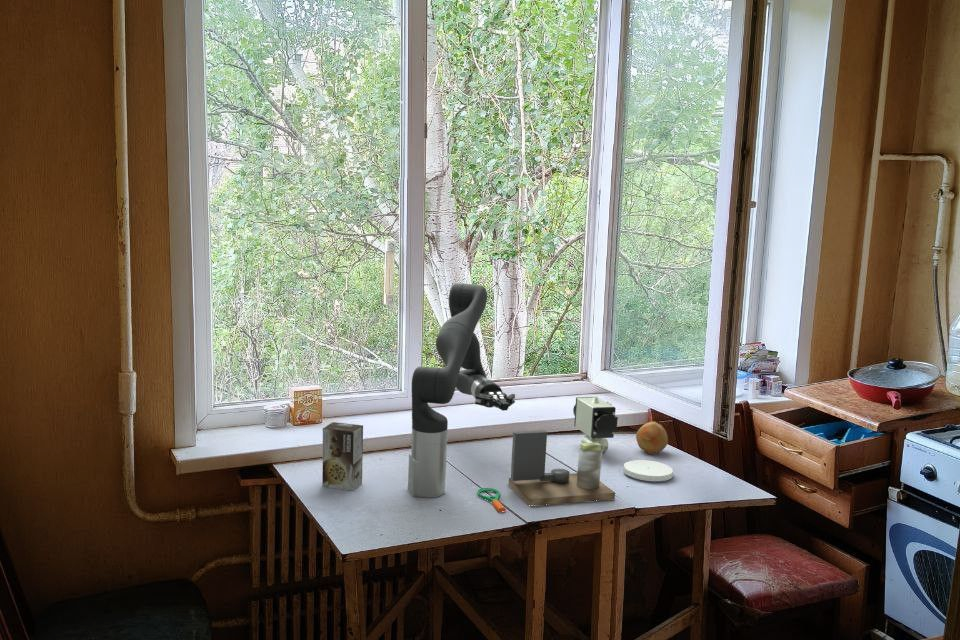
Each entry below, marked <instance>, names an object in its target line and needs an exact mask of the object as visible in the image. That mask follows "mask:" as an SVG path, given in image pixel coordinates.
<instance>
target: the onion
mask: <svg viewBox="0 0 960 640" xmlns="http://www.w3.org/2000/svg"><path fill="white" fill-rule="evenodd" d="M635 439H636V443H637V445H638V447H639V448H640V450H641V451H643V452H645V453H647V454H650V455H656V454H658V453H660V452H662V451H663V450H665V448H666V447H667V445H668V444H669V436H668V433H667V431H666V429H665V428H664V426H663V425H662V424H660V423H658V422H657V421H649V422H647V423H645V424H643V425H642V426H641V427H640V428H639V429H638V430H637V432H636V434H635Z"/></svg>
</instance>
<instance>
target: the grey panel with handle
mask: <svg viewBox="0 0 960 640" xmlns="http://www.w3.org/2000/svg"><path fill="white" fill-rule="evenodd" d="M547 441H548V431H547V430H544V429H543V430H542V429H541V430H521V431H512V445H511V447H512V448H511V461H510V462H511V463H510V465H511V466H510V478H511V480H512V481H522V480H537V479H539V480H540V481H552V482H555V483H561V484H563V483H568V482H569V476H570V474H571V473H570V471H569V470H568V469H564V468H553V469H551V471H550V472H545V471H546V459H547V458H546V456H547Z"/></svg>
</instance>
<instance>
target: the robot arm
mask: <svg viewBox="0 0 960 640" xmlns="http://www.w3.org/2000/svg"><path fill="white" fill-rule="evenodd" d="M487 301H488V291H487V289H486V288H485V287H484V285H481V284H476V283H462V282H460V283H457V282H455V283H453V284H452V285H451V287H450V289H449V293H448V306H449V313H450V318H449V319H447V320H446V321H445V322H444V323H443V324H442V326H441V327H440V329H439V331H438V334H437V336H436V340H435V348H436V351H437V353H438V355H439V357H440V359H441V361H442V362H443V363H444V364H445V367H436V366H435V367H433V366H423V365H422V366H417V367H416V368H415V369H414V371H413V374H412V377H411V447H410V451H411V452H410V453H409V454H408V472H407V473H408V474H407V477H408V478H407V490H408V491H409V493H410V494H411V497H419V498H437V497H440V496H442V495H444V494H445V492H446V475H447V474H446V473H447V450H448V425H449V423H448V418H447V416H445V415H444V414H442V413H440V412H438V411H436V410H434V409H433V408H432V407H431V406H430V405H429V404H435V405H436V404H438V405H445V404H446V405H447V404H449V403H450V402H451V401H452V400H453V397H454V394H455V392H456V389H457V390H458V391H459V392H460V393H461V394H464V395H467V396H468V395H469V396H472V397H473V398H474V404H475V406H476V405H477V406H482V407H485V408H490V409H491V408H496V409H499V410H501V411H503V412H504V411H508V409H509V407H512V405H514V404H515V403H516V394H515V393H511V394H508V395H507V393H505V392H504V391H503V390H502V388H501V387H500V386H499V384H497V383H495V381H493V380H491V379H489V378H488V376H487V373H486V371H485V370H484V367H483V364H482V360H481V348H480V347H481V346H480V342H479V339H478V337H477V335H476V334H475V330H476V328H477V325H478V323H479V320H480V319H481V318H482V315H483V313H484V312H485V309H486V305H487ZM461 369H462V370H461Z"/></svg>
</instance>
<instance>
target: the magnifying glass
mask: <svg viewBox="0 0 960 640" xmlns="http://www.w3.org/2000/svg"><path fill="white" fill-rule="evenodd" d="M484 491H493V492H495V493H494V494H495V495H484V494H482V493H481V492H483V493H485V492H484ZM480 493H481V494H480ZM496 493H497V494H496ZM477 495H478V496H479V497H478V496H477ZM476 496H477V497H478V498H480V497H481V498H480V499H482V498H483V499H482V500H484V499H486V500H488V501H490V502H492V503H491V505H494V506H495V507H494V506H493V507H494V508H495V509H496V510H497V512H498V513H499V512H502V511H505V512H506V510H507V508H506V507H505V506H504V505H503V504H502V503H501V502H500V501H499V500H500V498H501V491H499V490H498V489H497V488H492V487H491V488H490V487H481V488H479V489H478V490H477V491H476ZM499 497H500V498H499ZM486 500H485V501H486ZM488 501H487V502H488ZM490 502H489V503H490Z"/></svg>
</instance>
